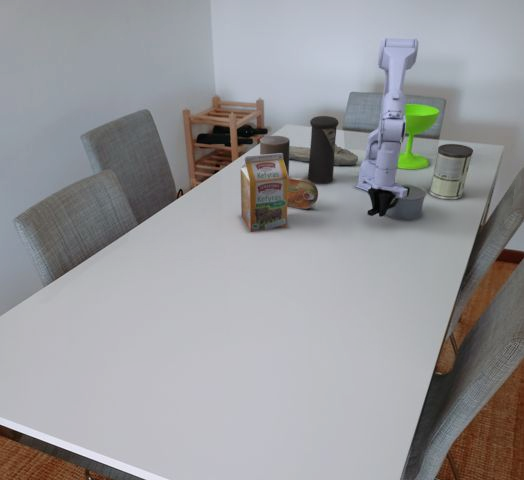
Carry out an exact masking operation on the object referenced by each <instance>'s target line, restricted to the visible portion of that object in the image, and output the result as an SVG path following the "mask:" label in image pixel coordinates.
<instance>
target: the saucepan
mask: <svg viewBox="0 0 524 480" xmlns="http://www.w3.org/2000/svg"><path fill="white" fill-rule="evenodd" d="M399 185H400V186H402V187H403V188H406V189H408V191H407V196H406V197H403V198H401V197H399V196H398V195H396V196H395V198H394V199H393V200H392V202H391V203H390V205H389V207H388V209H387V212H386V214H385V216H386V217H388V218H392V219H393V220H394V219H395V220H399V221H413V220H417V219H419V218H420V217H421V215H422V210H423V206H424V201H425V198H426V196H427V192H426V190H424V189H423V188H421V187H418V186H415V185H411V184H399ZM379 209H380V206H378V207H375V208H373V209H372V208H371V209H368V210H367V215H368V216H370V217H373V216H375V215H379Z"/></svg>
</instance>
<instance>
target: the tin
mask: <svg viewBox="0 0 524 480" xmlns="http://www.w3.org/2000/svg"><path fill="white" fill-rule="evenodd" d="M318 198H319V190H318V187H317V185H316V183H313V182H311V181H309V180H308V179H305V178H300V177H293V176H289V177H288V201H287V207H290V208H296V209H301V210H307V209H308V210H309V209H310V208H312V207H313V206H314V205H315V204H316V202H317V201H318Z"/></svg>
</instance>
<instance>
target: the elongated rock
mask: <svg viewBox="0 0 524 480" xmlns="http://www.w3.org/2000/svg"><path fill="white" fill-rule="evenodd" d="M309 159H310V147H303V146H293V145H289V160H295V161H299V162H306V163H309ZM358 161H359V157H358V155H357V154H355V153H354V152H351V150H349V149H347V148H342V147H341V146H338V145H337V144H336V143H335V154H334V166H336V167H337V166H338V167H339V166H341V165H342V166H344V165H345V166H348V165H356V164H357V163H358Z"/></svg>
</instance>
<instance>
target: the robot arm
mask: <svg viewBox="0 0 524 480" xmlns="http://www.w3.org/2000/svg"><path fill="white" fill-rule="evenodd" d="M418 50H419V40H418V38H386V37H383V38H382V39H381V40H380V46H379V53H378V54H379V55H378V64H377V65H378V68H379V69H381V70H383V71H384V73H385V74H384V75H385V78H384V86H383V92H382V99H381V107H380V115H379V121H378V127H377V128H375V129H374V130H372V131H371V132H370V133H369V134H368V135H367V136H368V137H367V141H366V148H365V155H364V156H365V159H364V160H362V162H361V164H360V167H359V174H358V182H357V185H356V186H355V187H356V188H358V189H361V190H363V191H366V192H367V194H368V196H369V198H370V202H371V207H372V208H371V209H373V208H375V207H378V206H380V209H379V213H378V217H379V218H382V217H385V216H386V212H387V209H388V207H389V205H390V203H391V202H392V200H393V199H394V198H395V196H396V195H398V196H399V197H401V198H403V197H406V196H407V191H408V189H406V188H403V187H402V186H400V185H401V184H399V183H397V182H396V178H397V177H396V176H397V171H398V168H397V166H398V160H399V154H400V153H401V147H402V144H403V142H404V141H405V137H406V133H405V132H406V115H405V105H406V104H407V97H406V94H405V93H404V92H403V87H404V83H405V76H406V71H408V70H411V69H412V68H413V66H414V65H415V64H416V62H417V58H418V52H419V51H418Z"/></svg>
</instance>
